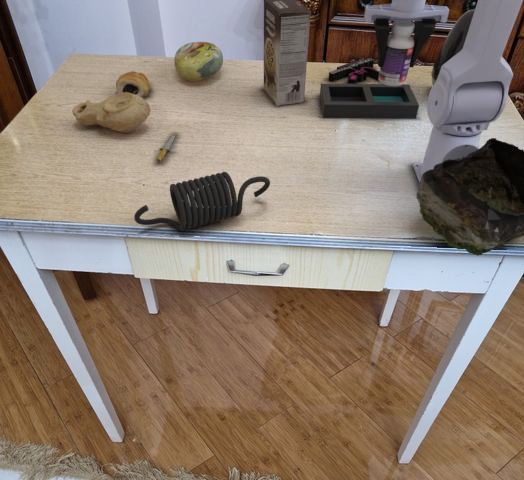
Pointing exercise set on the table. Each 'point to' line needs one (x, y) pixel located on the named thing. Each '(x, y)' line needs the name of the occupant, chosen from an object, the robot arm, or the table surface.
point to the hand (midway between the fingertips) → (395, 65)
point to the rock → (476, 198)
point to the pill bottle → (397, 54)
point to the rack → (367, 101)
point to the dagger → (165, 149)
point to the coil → (204, 201)
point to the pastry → (133, 84)
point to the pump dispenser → (452, 43)
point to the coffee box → (285, 50)
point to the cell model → (198, 60)
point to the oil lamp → (114, 112)
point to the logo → (355, 71)
